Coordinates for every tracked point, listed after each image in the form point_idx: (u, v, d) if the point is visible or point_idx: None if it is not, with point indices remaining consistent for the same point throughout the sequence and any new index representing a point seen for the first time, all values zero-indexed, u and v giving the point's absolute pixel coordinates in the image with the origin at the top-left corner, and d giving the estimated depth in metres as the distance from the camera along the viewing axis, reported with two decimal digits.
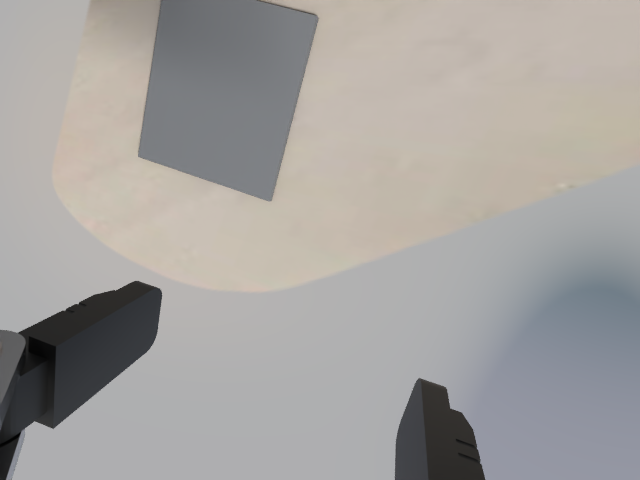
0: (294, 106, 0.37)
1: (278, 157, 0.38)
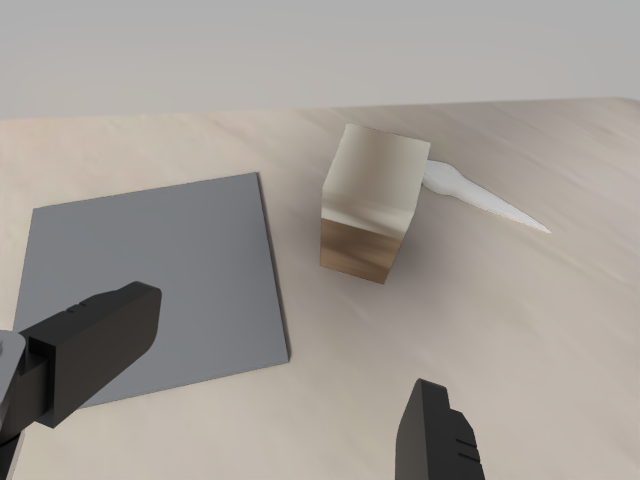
0: (163, 388, 0.24)
1: None
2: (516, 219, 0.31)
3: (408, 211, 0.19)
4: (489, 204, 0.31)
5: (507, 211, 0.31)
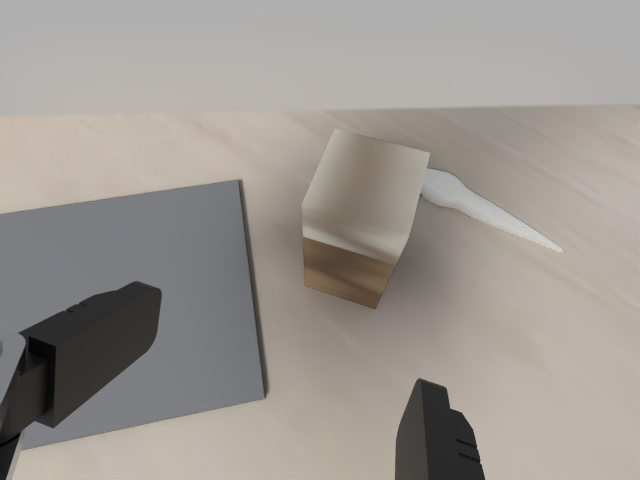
0: (119, 428, 0.21)
1: None
2: (525, 236, 0.28)
3: (402, 234, 0.16)
4: (495, 219, 0.28)
5: (515, 227, 0.28)
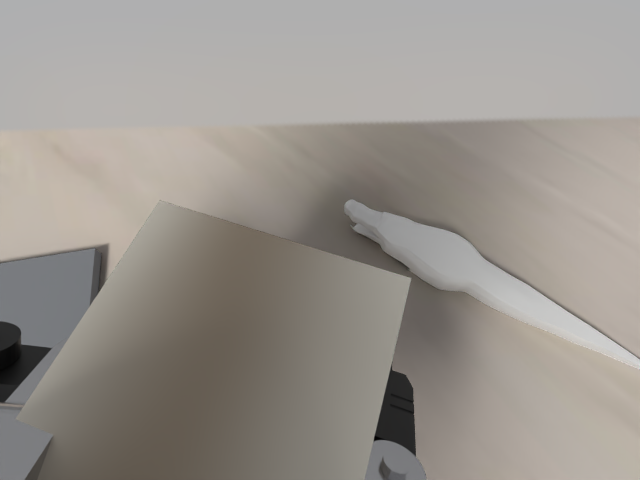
0: None
1: None
2: (588, 345, 0.16)
3: None
4: (535, 316, 0.16)
5: (571, 330, 0.16)
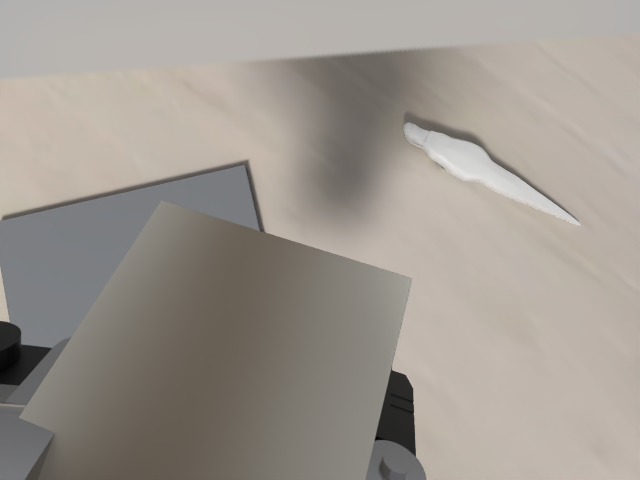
0: None
1: None
2: (545, 210, 0.28)
3: None
4: (517, 195, 0.27)
5: (536, 203, 0.27)
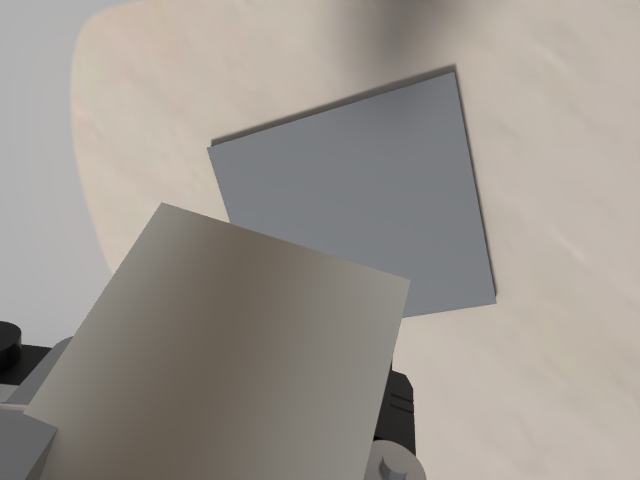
0: None
1: None
2: None
3: None
4: None
5: None
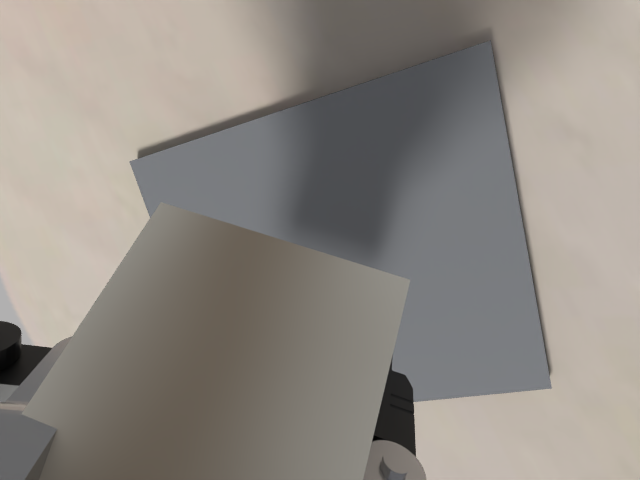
0: None
1: None
2: None
3: None
4: None
5: None
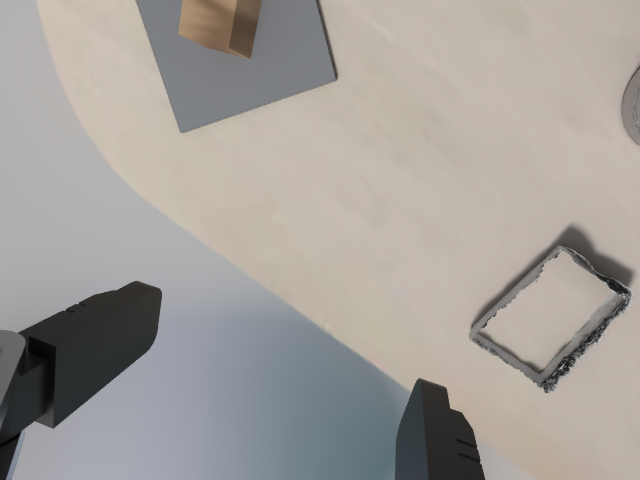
0: (261, 105, 0.39)
1: (216, 118, 0.40)
2: None
3: None
4: None
5: None
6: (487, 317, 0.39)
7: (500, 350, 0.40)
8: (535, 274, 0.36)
